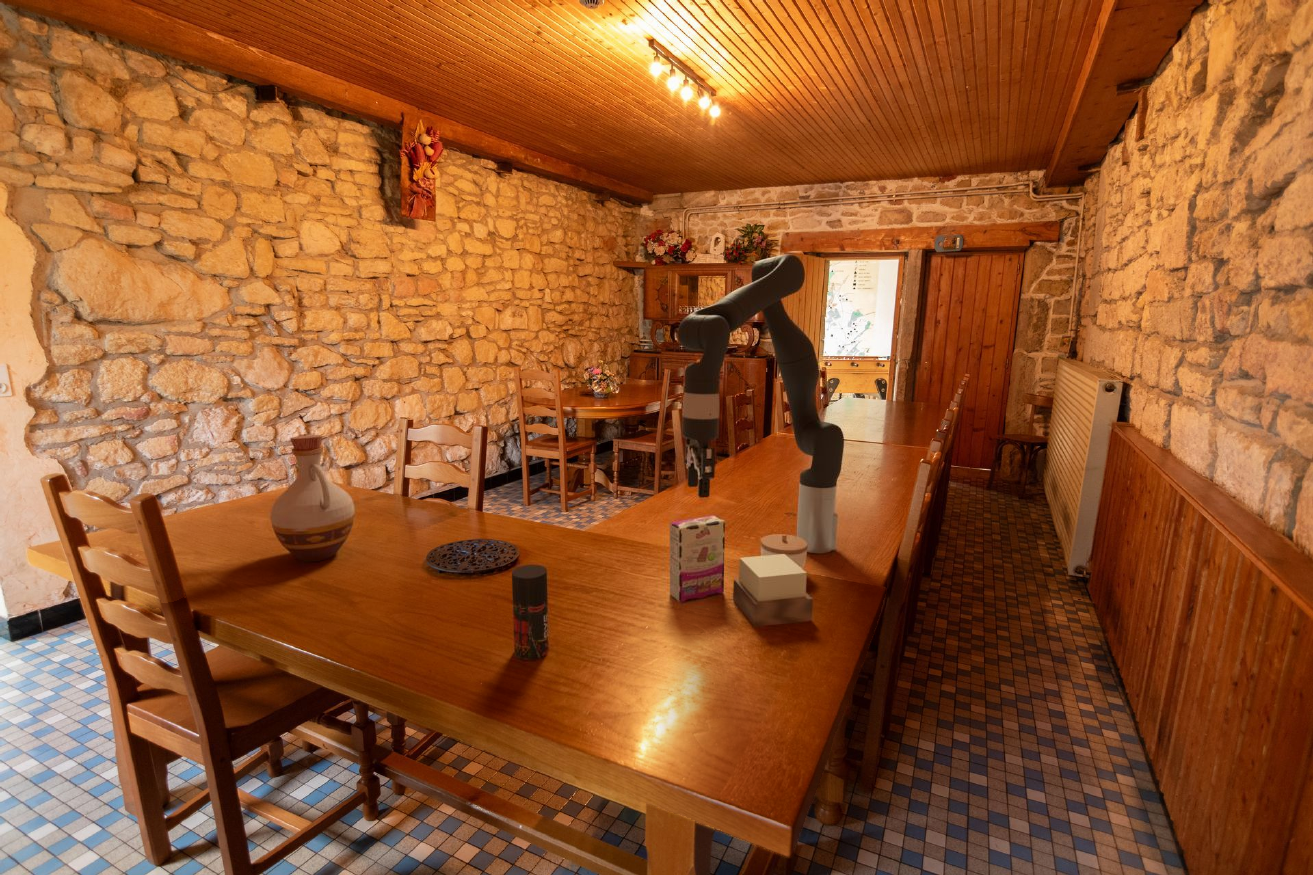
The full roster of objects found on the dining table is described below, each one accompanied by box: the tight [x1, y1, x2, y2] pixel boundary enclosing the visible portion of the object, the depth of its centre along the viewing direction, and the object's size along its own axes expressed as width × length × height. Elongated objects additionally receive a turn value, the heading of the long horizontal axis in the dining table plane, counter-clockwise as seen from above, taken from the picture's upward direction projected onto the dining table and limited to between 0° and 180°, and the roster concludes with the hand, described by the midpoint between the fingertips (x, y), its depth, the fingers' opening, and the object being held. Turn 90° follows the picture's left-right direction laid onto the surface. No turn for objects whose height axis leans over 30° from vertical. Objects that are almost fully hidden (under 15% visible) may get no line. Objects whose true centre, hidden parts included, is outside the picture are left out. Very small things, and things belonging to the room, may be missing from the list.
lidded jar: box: [760, 533, 808, 569], centre depth 143 cm, size 11×11×9 cm
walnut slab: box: [732, 578, 814, 628], centre depth 125 cm, size 12×12×5 cm
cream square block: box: [738, 554, 808, 602], centre depth 124 cm, size 10×10×5 cm
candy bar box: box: [669, 514, 726, 604], centre depth 130 cm, size 11×5×16 cm, turn 117°
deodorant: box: [511, 564, 550, 662], centre depth 107 cm, size 6×6×15 cm
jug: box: [269, 434, 355, 563], centre depth 147 cm, size 20×18×30 cm
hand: (697, 491), depth 128 cm, fingers open, 8 cm apart
